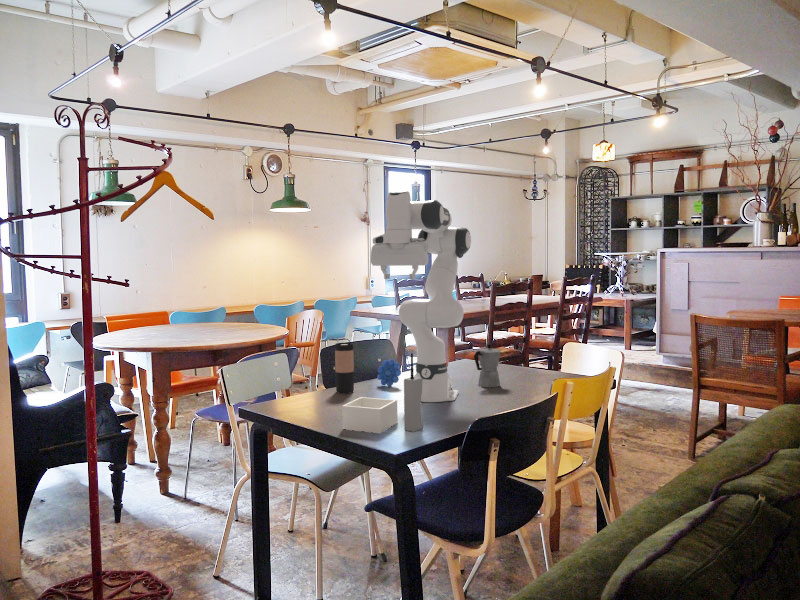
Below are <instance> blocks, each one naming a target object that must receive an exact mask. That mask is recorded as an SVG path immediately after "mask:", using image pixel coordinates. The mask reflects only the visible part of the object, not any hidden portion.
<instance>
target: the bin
mask: <svg viewBox="0 0 800 600" xmlns="http://www.w3.org/2000/svg"><path fill="white" fill-rule="evenodd" d="M341 414H342V416H341V417H342V418H341V419H342V428H341V429H342V430H343V429H346V430H345V431H352V430H354V431H353V432H361V431H365V432H364V433H371V432H373V434H380V433H381V434H383V433H384V432H386V431H387V430H389V429H391V428H392V427H394V426H395V425H397V424H398V400H397V399H389V398H378V397H377V398H375V397H365V396H360V397H358V398H356V399H354V400H351V401H349V402H347V403H345V404H343V405H341ZM396 423H397V424H396ZM394 424H395V425H394ZM393 425H394V426H393ZM391 426H392V427H391ZM388 428H389V429H388ZM386 429H387V430H386ZM385 430H386V431H385ZM383 431H384V432H383Z"/></svg>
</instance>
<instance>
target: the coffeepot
mask: <svg viewBox="0 0 800 600" xmlns="http://www.w3.org/2000/svg"><path fill="white" fill-rule="evenodd" d="M486 346H487V347H486V348H482V349H479V350H477V351H475V353H474V355H473V358H474V359H473V360H474V362H475V366H476V370H478V371H480V373H479V377H478V386H479V387H480V386H481V387H480V388H485V387H489V388H490V387H495V388H499V387H500V385H501V383H500V376H499V371H498V366H499V363H500V358H501V357H500V356H501V350H500V349H496V348H491V347H492V344H491V343H488V344H487V345H486ZM498 386H499V387H498ZM490 389H491V388H490Z"/></svg>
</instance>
